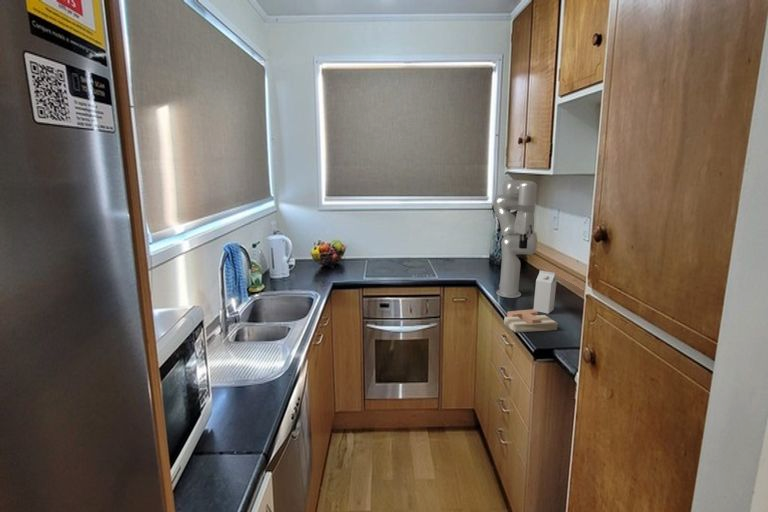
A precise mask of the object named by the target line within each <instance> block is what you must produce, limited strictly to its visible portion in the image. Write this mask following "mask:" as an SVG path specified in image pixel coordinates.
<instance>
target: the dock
mask: <svg viewBox="0 0 768 512" xmlns="http://www.w3.org/2000/svg"><path fill="white" fill-rule="evenodd" d="M535 316H536V317H538V318H539V319H541V323H526V322H524V321H523V320H522V319H520V318H519V317H518V316H516V317H507V316H504V318H503V319H504V320H503V324H504V326H506V327H507V328H508V329H510V330H511V331H513V332H514V333H528V332H544V331H545V332H546V331H557V330H558V324H559V323H558V321H557V322H556V321H555V320H554V319H552V318H550V317H549V316H547V315H545V314H538V315H535Z"/></svg>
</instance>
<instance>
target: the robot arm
mask: <svg viewBox="0 0 768 512" xmlns="http://www.w3.org/2000/svg"><path fill="white" fill-rule="evenodd" d="M537 187H538V185H537V183H536V182H534V181H533V180H525V179H524V180H523V179H521V180H519V179H510V180H504V182H503V185H502V190H501V191H502V194H499V195H496V196H495V197H494V199H493V211H494V213H495V216H496V218H497V219H498V221H499V225H500V227H499V228H500V231H501V235H502V238H501V242H500V243H501V244H500V247H501V266H500V280H499V284H498V287H499V289H497V290H496V292H495V294H496V295H497V296H499V297H503V298H507V299H515V298H520V297H521V296H522V293H521V292H520V291H519V287H520V284H519V283H520V277H521V276H520V275H521V274H520V273H521V260H520V259H519V258H518V256H517V255H532V254H534V253H536V251H537V249H538V244H537V238H536V235H535V232H534V230H535V229H534V228H535V211H536V210H535V209H536V201H537ZM511 211H516V216H515V215H514V214H513V212H511Z"/></svg>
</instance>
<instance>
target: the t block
mask: <svg viewBox="0 0 768 512" xmlns="http://www.w3.org/2000/svg"><path fill="white" fill-rule="evenodd" d="M533 309H534V308H531V309H520V310H519V309H518V310H511V311H510V310H509V311H507V312H506V317H516V316H518V317H519V318H520V319H522V320H523V321H524V322H526V323H541V319H539V318H538V317H536V316H535V315H539V312H538V311H535V310H533Z"/></svg>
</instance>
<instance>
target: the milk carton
mask: <svg viewBox="0 0 768 512" xmlns="http://www.w3.org/2000/svg"><path fill="white" fill-rule="evenodd" d="M557 281H558V280H557V277H556V272H551V271H547V270H541V269H540V270H539V273H538V275H537V278H536V280H535V290H534V300H533V308H532V309H533V310H535V311H537V312H538V313H542V314H543V313H544V314H551V312H553V311H554V307H555V298H556V289H557Z"/></svg>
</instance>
